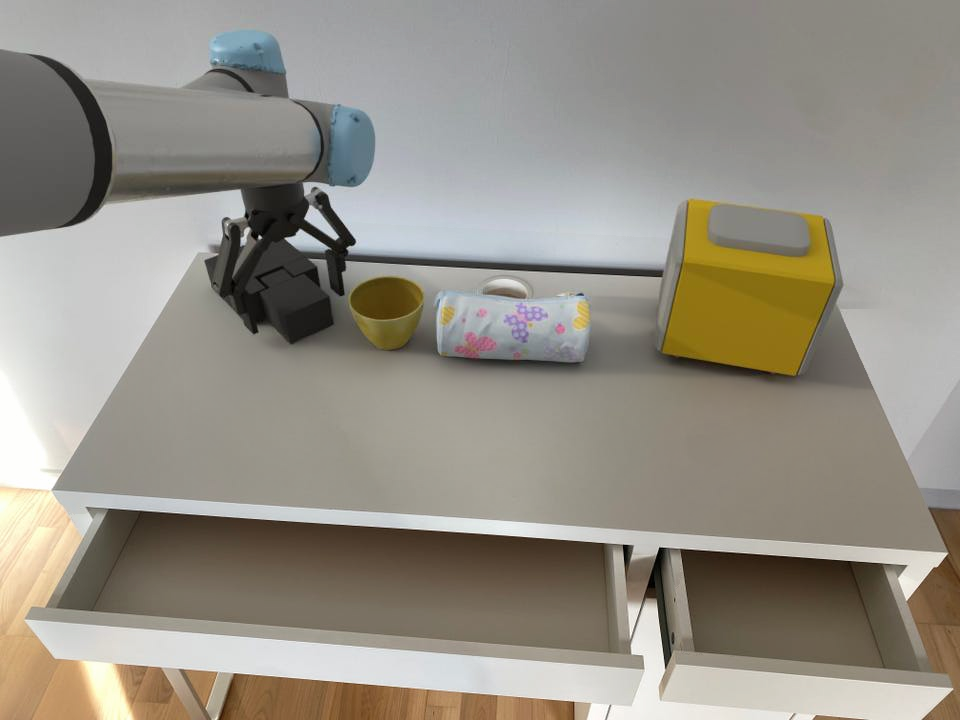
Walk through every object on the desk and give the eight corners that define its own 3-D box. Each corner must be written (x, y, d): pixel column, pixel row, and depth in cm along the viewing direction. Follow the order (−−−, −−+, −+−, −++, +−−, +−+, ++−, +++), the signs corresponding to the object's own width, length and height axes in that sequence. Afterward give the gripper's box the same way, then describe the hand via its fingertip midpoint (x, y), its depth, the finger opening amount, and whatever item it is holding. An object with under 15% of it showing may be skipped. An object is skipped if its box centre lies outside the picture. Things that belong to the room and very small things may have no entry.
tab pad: (290, 344, 99) (284, 316, 96) (256, 310, 104) (249, 282, 101) (334, 324, 102) (329, 296, 99) (298, 292, 108) (293, 264, 105)
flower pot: (407, 308, 105) (404, 267, 100) (439, 347, 99) (437, 305, 94) (343, 329, 101) (337, 288, 97) (371, 371, 95) (366, 329, 90)
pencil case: (584, 333, 101) (592, 278, 95) (590, 375, 95) (599, 319, 88) (437, 330, 101) (434, 275, 95) (433, 372, 95) (430, 316, 89)
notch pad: (248, 326, 102) (241, 297, 98) (212, 287, 108) (203, 260, 105) (322, 294, 108) (317, 266, 104) (283, 259, 114) (277, 232, 111)
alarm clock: (793, 316, 105) (836, 204, 92) (801, 389, 93) (852, 272, 81) (657, 295, 108) (681, 184, 96) (649, 363, 97) (675, 247, 84)
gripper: (340, 132, 95) (356, 266, 109) (155, 189, 83) (199, 331, 97) (372, 152, 91) (384, 288, 105) (181, 214, 78) (224, 360, 92)
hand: (296, 309), depth 101 cm, fingers open, 13 cm apart
